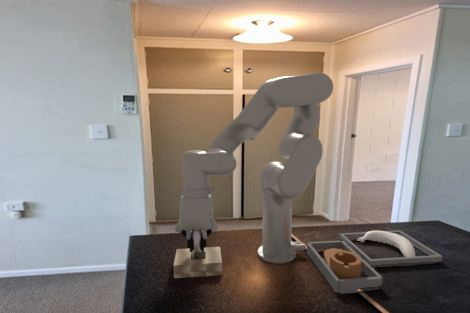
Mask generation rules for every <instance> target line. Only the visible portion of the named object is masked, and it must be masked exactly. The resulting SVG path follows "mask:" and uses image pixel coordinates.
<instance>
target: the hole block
mask: <svg viewBox="0 0 470 313" xmlns="http://www.w3.org/2000/svg"><path fill="white" fill-rule="evenodd" d="M221 250H222V249H221V246H209V247H207V246H206V248H204V252H202V259H193V260H192V252H190V248H188V247H187V248H176V252H175V255H174V256H175V257H174V260H173V261H174V262H173V279H181V278H184V279H185V278H195V277H196V278H197V277H198V278H199V277H211V276H214V277H215V276H223V260H222V252H221Z"/></svg>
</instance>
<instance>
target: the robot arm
mask: <svg viewBox="0 0 470 313" xmlns="http://www.w3.org/2000/svg"><path fill="white" fill-rule="evenodd" d="M333 91H334V82H333V80H332V79H331V77H330V76H329V75H327V74H326V73H323V72H313V73H307V74H306V73H305V74H300V75H291V76H290V75H289V76H280V77H277V78H276V77H275V78H273V79H269V80H266V81H264V82H263V83H262V84H261V86H260V87H258V89H257V91H255V93H254V94H253V95H252V97H251V98H250V100H249V101H248V102H247V103H246V105H245V106H244V107H243V109H241V111H240V112H239V114H238V115H237V116H236V117H235V118H234V119H233V120H231V122H230V123H229V124H228V125H227V126H226V127H225V128H224V129H223V131H221V132H220V133H219V134H218V136H217V137H216V138H215V140H214V141H213V142H212V143H211V145H210V146H209V147H208V149H207V150H200V149H193V150H186V151H184V152H183V154H182V193H183V194H182V195H181V196H180V200H179V215H178V216H179V219H178V221H177V223H176V225H175V227H174V232H177V233H178V234H181V235H182V236H183V237H184V238H185V239H186V240H187V249H188V248H190V252H192V230H202V252H204V248H206V247H207V239H208V237H209V236H210V235H211V234H212V233H214V232H216V231H217V230H219V225H218V224H217V222H216V220H215V219H214V206H213V205H214V204H213V198H212V195H211V194H210V193H214V190H215V189H214V187H211V186H209V185H210V184H209V183H210V181H209V179H210V178H209V176H216V177H217V176H219V177H227V176H229V175H231V174H233V172H235V170H236V168H237V160H236V157H235V155H234V154H233V153H235V151H236V150H237V149H238V148H239V147H240V146H241V145H242V144H243V143H245V142H246V141H248V140H250V139H252V138H255V137H256V136H258V135H259V134H260V133H261V132H263V130H264V129H265V127H266V125H268V123H269V122H270V121H271V119H272V118H273V116H274V115H275V114H276V113H277V111H278V110H279V109H280V108H281V109H282V108H292V107H293V114H292V118H291V120H290V122H289V123H288V124H289V125H288V126H287V129H286V130H285V132H284V134H283V136H282V138H281V140H280V142H279V144H278V153H279V155H280V156H281V158H283V159H284V160H287V161H286V162H285V163H284V162H281V161H270V162H268V163H267V164H265V166H264V167H263V168H262V170H261V173H260V185H261V191H262V194H261V195H262V239H261V240H262V244H261V245H260V246H259V247H258V249H257V256H258V257H259V258H260V259H261V260H262V261H264V262H267V263H270V264H276V265H277V264H278V265H279V264H287V263H291V262H292V261H293V260H295V258H296V254H297V253H296V252H297V251H303V250H305V251H306V250H307V246H306V244H305V243H300V242H299V241H298V240H297V241H293V240H292V225H293V224H292V221H293V219H292V218H293V200H295V199H297V198H300V196H302V195H303V193H304V192H305V191H306V189H307V188H308V186H309V184H310V182H311V180H312V178H313V176H314V175H315V172H316V170H317V169H318V166H319V164H320V162H321V160H322V157H323V151H324V150H323V144H322V142H321V140H320V139H319V138H318V137H317V136H316V135H315V133H316V132H317V129H318V128H319V127H318V126H319V125H320V121H321V120H320V119H321V113H320V108H319V103H323V102H325V101H327V100H328V99H329V98H330V97H331V96H332V94H333Z"/></svg>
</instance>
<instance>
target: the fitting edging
mask: <svg viewBox="0 0 470 313" xmlns="http://www.w3.org/2000/svg"><path fill="white" fill-rule="evenodd" d="M328 248H342V249H343V250H345V251H349V252H352V253H355V254H356V255H358V254H357V253H356V252H355V251H354V250H353V249H352V248H351V247H350V246H348V245H347V244H346V243H345V242H344V241H340V240H326V241H325V240H323V241H309V242H307V243H306V254H307V256H308V257H309V258H310V260H311V261H312V262H313V263H314V265H315V266H316V268H317V269H318V271H319V272H320V273H321V274H322V276H323V277H324V279H325V280H326V281H327V283H328V285H329V286H330V287H331V289H332V290H333V291H334V292H335V294H338V293H339V294H340V295H343V294H354V293H358V292H357V290H358V289H360V288H365V287H377V286H380V285H382V286H383V281H384V280H383V279H384V278H383V276H382V275H381V274H380V273H379V272H377V270H375V268H372V267H371V266H370V265H369V264H368V263H367V262H366V261H365V260H364V259H362V258H361V257H360V256H359V255H358V256H359V257H360V258H361V268H362V269H363V270H364V271H365V272H366V273H367V274H368V275H369V276H370V277H366V276H365V277H360V278H352V279H338V277H337V276H336V275H335V274H334V272H333V271H332V270H331V269H330V267H329V266H328V265H327V264H326V262H325V261H324V258H323V257H322V256H321V254H320V253H318V252H317V251H316V250H315V249H328Z"/></svg>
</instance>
